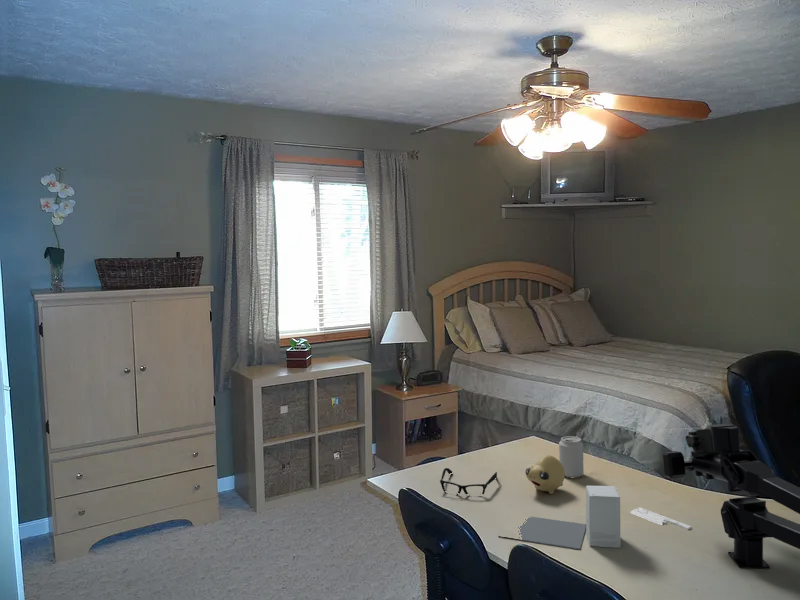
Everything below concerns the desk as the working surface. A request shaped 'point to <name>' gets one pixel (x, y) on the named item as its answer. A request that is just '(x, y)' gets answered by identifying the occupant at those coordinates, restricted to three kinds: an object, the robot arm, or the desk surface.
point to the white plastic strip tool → (657, 518)
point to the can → (571, 456)
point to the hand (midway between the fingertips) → (679, 457)
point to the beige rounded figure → (546, 474)
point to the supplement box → (603, 516)
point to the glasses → (466, 485)
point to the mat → (553, 532)
